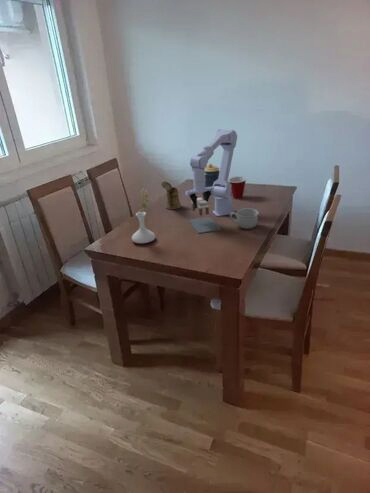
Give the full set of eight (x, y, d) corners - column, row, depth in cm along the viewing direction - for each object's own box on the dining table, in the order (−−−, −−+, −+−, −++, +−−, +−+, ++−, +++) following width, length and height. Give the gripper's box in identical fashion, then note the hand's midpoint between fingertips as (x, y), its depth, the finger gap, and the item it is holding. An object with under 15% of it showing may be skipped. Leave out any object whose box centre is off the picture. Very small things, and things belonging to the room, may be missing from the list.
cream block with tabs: (209, 214, 183) (209, 202, 181) (200, 215, 182) (199, 204, 179) (200, 208, 192) (200, 197, 189) (191, 210, 190) (191, 198, 187)
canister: (199, 193, 236) (198, 166, 228) (202, 187, 248) (201, 161, 240) (220, 193, 234) (219, 166, 226) (221, 187, 245) (221, 161, 238)
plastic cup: (225, 197, 227) (224, 178, 222) (240, 193, 231) (240, 175, 226) (234, 201, 218) (234, 182, 213) (249, 198, 222) (250, 179, 217)
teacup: (259, 223, 186) (260, 208, 183) (256, 232, 177) (256, 216, 174) (232, 221, 191) (232, 207, 187) (228, 229, 182) (228, 214, 178)
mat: (188, 221, 195) (188, 219, 194) (210, 217, 197) (210, 216, 197) (198, 233, 179) (198, 232, 179) (221, 230, 181) (221, 229, 181)
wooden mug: (159, 211, 210) (156, 181, 202) (169, 203, 221) (167, 174, 213) (173, 213, 207) (171, 182, 199) (183, 205, 218) (181, 175, 210)
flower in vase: (146, 247, 168) (140, 195, 157) (127, 243, 174) (120, 192, 163) (162, 236, 178) (157, 187, 167) (143, 232, 184) (138, 184, 173)
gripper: (208, 176, 185) (209, 202, 191) (182, 181, 180) (184, 207, 186) (215, 179, 179) (215, 205, 185) (188, 184, 174) (189, 211, 180)
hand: (200, 206), depth 185 cm, fingers closed on cream block with tabs, 5 cm apart
